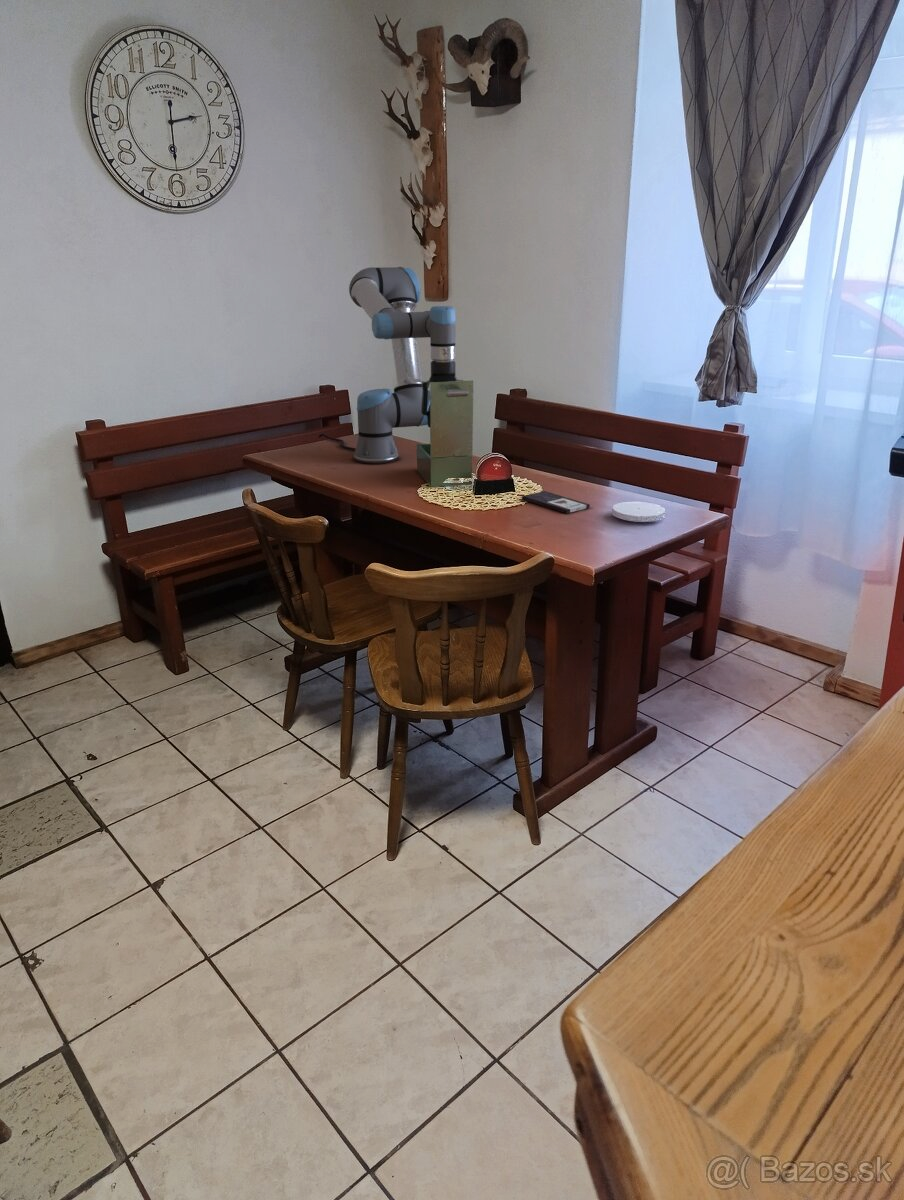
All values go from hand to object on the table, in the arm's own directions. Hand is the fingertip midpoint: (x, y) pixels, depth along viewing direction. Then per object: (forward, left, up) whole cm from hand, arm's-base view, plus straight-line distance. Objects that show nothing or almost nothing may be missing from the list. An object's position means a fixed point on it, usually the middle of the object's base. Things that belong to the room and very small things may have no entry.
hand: (443, 436), depth 254 cm
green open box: (0, 0, -13) cm, 13 cm away
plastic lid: (+55, +41, -13) cm, 70 cm away
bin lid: (+11, 0, +7) cm, 13 cm away
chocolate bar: (+37, +24, -13) cm, 46 cm away
